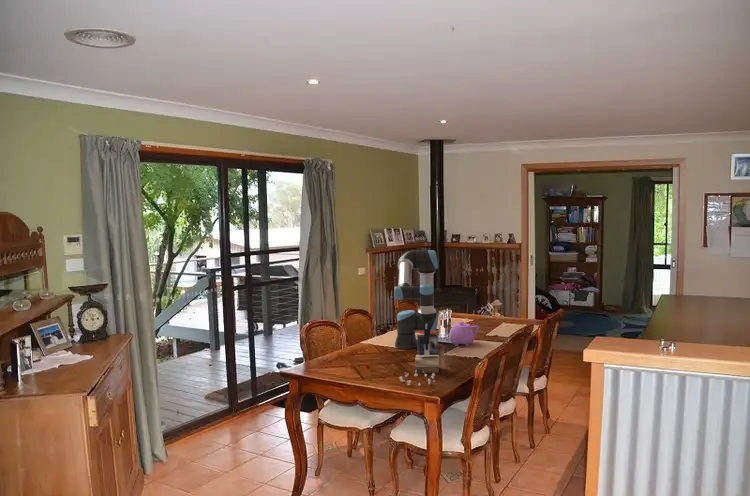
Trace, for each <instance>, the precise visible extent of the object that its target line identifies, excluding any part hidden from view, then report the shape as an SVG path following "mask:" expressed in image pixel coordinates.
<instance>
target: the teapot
mask: <svg viewBox="0 0 750 496" xmlns="http://www.w3.org/2000/svg"><path fill="white" fill-rule="evenodd" d="M474 328H475V331H473V329H474ZM479 330H480V326H479V325H471V324H470V323H465V322H464V321H458V323H454V324H452V327H451V328H450V330H449V334H448V340H449V341H450V342H451V344H455V346H454V347H459V345H464V346H465V347H470V346H471V345H470V344H473V342H474V340H475V336H476V335H477V334H478V332H479Z"/></svg>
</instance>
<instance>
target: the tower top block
mask: <svg viewBox="0 0 750 496" xmlns="http://www.w3.org/2000/svg"><path fill="white" fill-rule="evenodd" d="M414 360H415V361H414V362H415V363H414V364H415V365H414V368H415V367H439V368H440V355H439V354H437V355H429V356H426V355H419V354H416V355H415V358H414Z"/></svg>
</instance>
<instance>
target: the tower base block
mask: <svg viewBox="0 0 750 496" xmlns="http://www.w3.org/2000/svg"><path fill="white" fill-rule="evenodd" d="M415 370H417V371H415ZM423 371H424V372H423ZM439 372H440V366H439V367H415V366H414V374H415V373H417V374H424V373H425V374H433V373H434V374H439Z"/></svg>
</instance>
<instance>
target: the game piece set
mask: <svg viewBox="0 0 750 496" xmlns="http://www.w3.org/2000/svg"><path fill="white" fill-rule="evenodd" d="M415 371H417V370H415V369H414V374H413V376H414V377H418V375H419V373H415ZM423 372H424V371H423ZM404 373H405V374H404ZM403 374H404V376H405V378H407V377H408V376H410V375H409V372H406V371H404V372H403ZM423 374H424V377H427V376H428V373H423ZM435 376H436V373H431V376H430V378H431V379H433V382H434V383H435V382H436V380H434V379H435V378H434V377H435ZM403 378H404V377H403V376H402V375H401V376H399V381H400V383H403V382H405V381H406V380H405V379H403ZM430 378H428V379H427V382H428V385H431V379H430ZM411 382H412V380H407V381H406V383H407V386H411ZM421 385H422V384H421V383H420V382H419V383H418V386H419V387H421Z"/></svg>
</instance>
